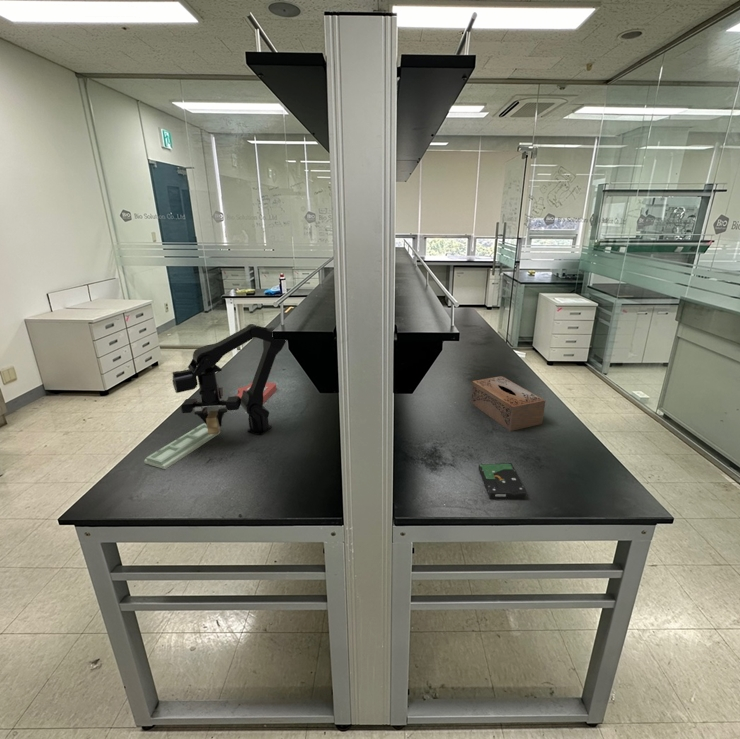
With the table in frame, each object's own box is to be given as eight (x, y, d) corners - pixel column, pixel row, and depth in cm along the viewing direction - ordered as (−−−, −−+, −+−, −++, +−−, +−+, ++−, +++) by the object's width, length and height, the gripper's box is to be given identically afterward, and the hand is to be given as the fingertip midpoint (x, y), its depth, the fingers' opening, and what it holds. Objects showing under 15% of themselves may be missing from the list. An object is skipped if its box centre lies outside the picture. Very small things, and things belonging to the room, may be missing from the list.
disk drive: (526, 501, 117) (510, 469, 131) (528, 492, 116) (511, 461, 130) (489, 501, 117) (477, 469, 131) (490, 493, 116) (478, 462, 130)
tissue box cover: (541, 424, 157) (545, 400, 153) (509, 431, 152) (512, 407, 149) (499, 397, 179) (501, 376, 176) (470, 403, 175) (472, 381, 171)
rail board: (220, 432, 154) (219, 426, 153) (165, 469, 133) (163, 462, 132) (202, 428, 157) (200, 422, 156) (144, 463, 136) (143, 456, 135)
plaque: (246, 379, 193) (277, 381, 190) (247, 387, 194) (278, 389, 192) (227, 395, 177) (260, 398, 174) (228, 404, 178) (261, 406, 175)
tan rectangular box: (222, 425, 149) (220, 410, 147) (218, 433, 143) (216, 418, 141) (212, 426, 148) (210, 410, 146) (208, 434, 143) (205, 418, 141)
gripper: (241, 374, 148) (246, 414, 154) (186, 377, 146) (193, 417, 152) (235, 387, 138) (241, 429, 143) (176, 390, 136) (184, 432, 142)
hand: (215, 426), depth 145 cm, fingers closed on tan rectangular box, 3 cm apart
